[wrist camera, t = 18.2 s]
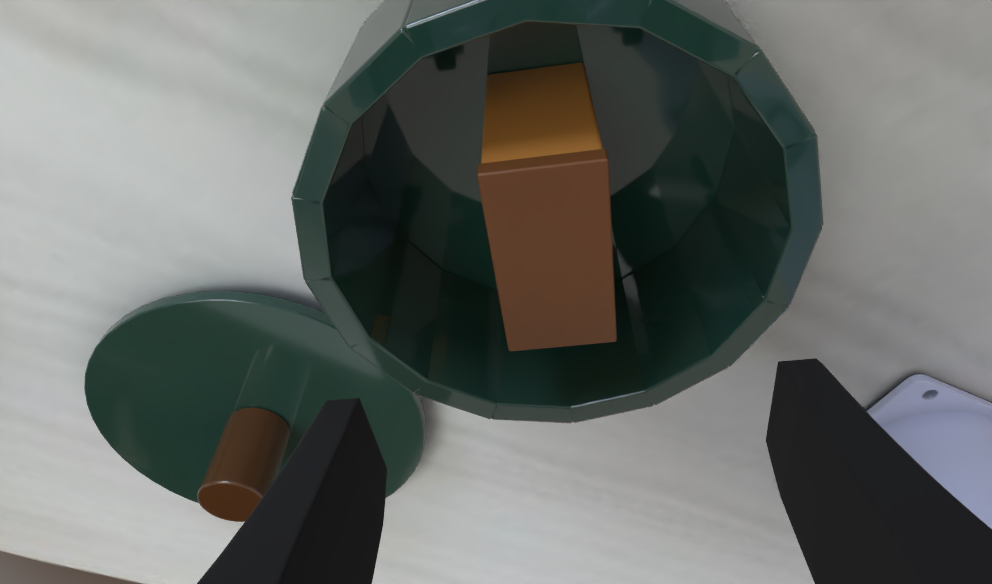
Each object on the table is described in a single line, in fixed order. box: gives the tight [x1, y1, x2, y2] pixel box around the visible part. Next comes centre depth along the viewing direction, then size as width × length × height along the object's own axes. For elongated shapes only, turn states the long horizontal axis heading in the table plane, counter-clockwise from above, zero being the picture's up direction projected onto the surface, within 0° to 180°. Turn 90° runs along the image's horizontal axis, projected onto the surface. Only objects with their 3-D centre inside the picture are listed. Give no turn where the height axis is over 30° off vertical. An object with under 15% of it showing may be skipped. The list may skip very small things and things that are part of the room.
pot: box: [291, 0, 823, 423], centre depth 18 cm, size 12×12×6 cm
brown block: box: [477, 62, 617, 351], centre depth 18 cm, size 5×3×6 cm, turn 8°
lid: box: [85, 291, 426, 522], centre depth 26 cm, size 13×13×4 cm
